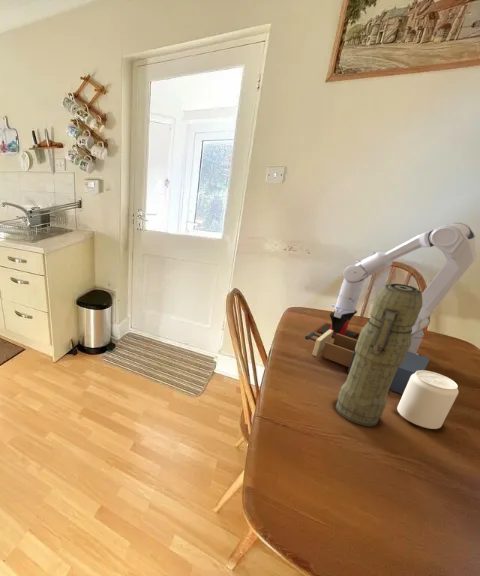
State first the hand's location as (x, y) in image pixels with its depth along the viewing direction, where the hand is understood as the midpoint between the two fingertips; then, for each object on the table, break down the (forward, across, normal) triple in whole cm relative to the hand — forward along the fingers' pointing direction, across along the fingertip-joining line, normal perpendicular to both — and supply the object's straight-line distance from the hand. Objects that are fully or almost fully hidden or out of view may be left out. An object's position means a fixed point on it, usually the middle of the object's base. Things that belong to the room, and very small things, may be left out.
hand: (338, 329), depth 119 cm
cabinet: (+2, +20, +18) cm, 27 cm away
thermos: (+2, +45, +18) cm, 48 cm away
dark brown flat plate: (+2, 0, 0) cm, 2 cm away
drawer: (+1, +20, +5) cm, 21 cm away
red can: (+1, 0, 0) cm, 1 cm away
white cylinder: (+2, +35, +28) cm, 45 cm away
